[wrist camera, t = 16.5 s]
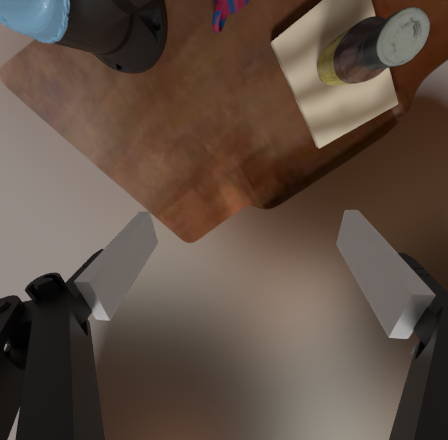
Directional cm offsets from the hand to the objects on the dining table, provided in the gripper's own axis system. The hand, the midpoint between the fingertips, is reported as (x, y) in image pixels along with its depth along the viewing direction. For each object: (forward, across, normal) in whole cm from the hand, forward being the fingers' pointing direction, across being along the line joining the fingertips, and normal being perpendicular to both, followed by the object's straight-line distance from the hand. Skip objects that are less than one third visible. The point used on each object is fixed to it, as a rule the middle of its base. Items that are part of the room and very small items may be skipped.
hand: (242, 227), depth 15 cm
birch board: (+35, +15, +10) cm, 39 cm away
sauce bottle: (+33, +14, +11) cm, 38 cm away
